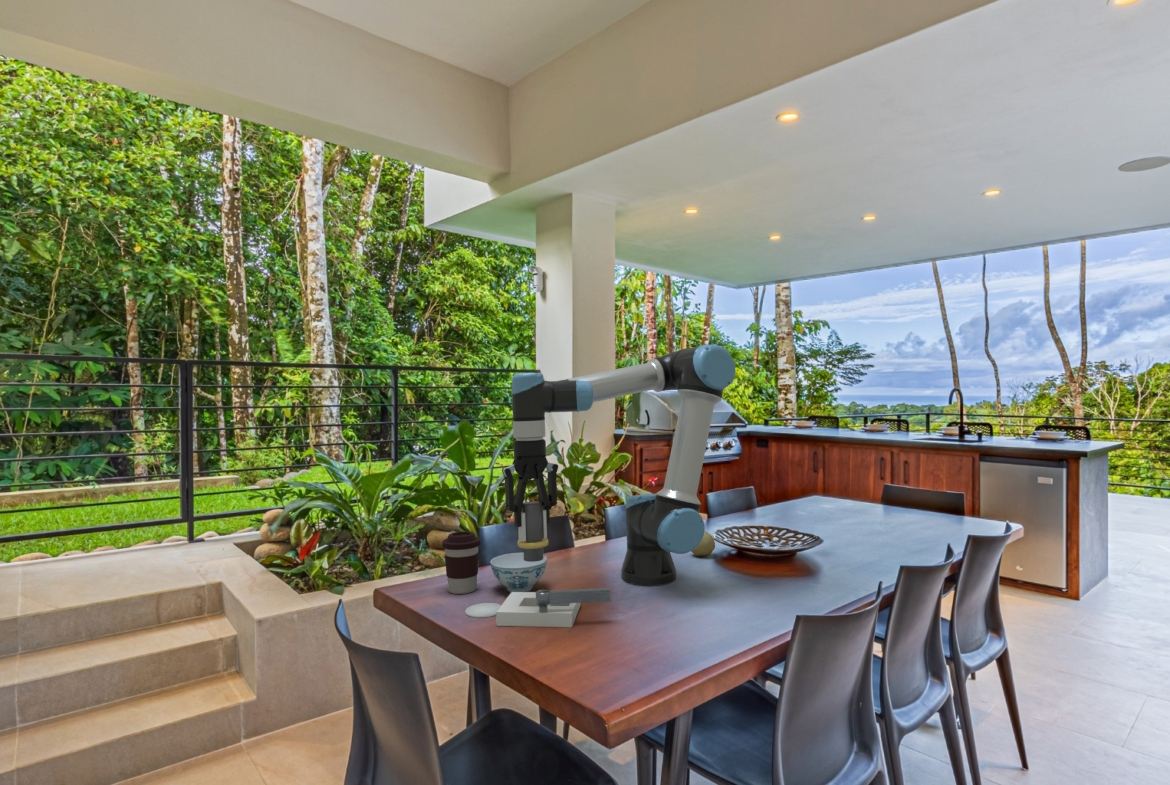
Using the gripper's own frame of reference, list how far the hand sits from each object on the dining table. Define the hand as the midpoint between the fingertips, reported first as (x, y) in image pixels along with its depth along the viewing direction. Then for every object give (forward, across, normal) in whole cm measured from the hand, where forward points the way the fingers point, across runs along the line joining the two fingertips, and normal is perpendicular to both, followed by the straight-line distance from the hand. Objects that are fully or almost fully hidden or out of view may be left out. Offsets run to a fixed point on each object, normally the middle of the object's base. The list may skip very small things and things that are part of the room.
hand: (532, 538), depth 140 cm
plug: (+5, 0, 0) cm, 5 cm away
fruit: (+18, -64, -19) cm, 70 cm away
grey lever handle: (+13, -5, +10) cm, 17 cm away
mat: (+18, +10, -9) cm, 22 cm away
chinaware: (+18, -4, -20) cm, 27 cm away
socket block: (+18, -1, +1) cm, 18 cm away
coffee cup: (+18, +10, -27) cm, 34 cm away
